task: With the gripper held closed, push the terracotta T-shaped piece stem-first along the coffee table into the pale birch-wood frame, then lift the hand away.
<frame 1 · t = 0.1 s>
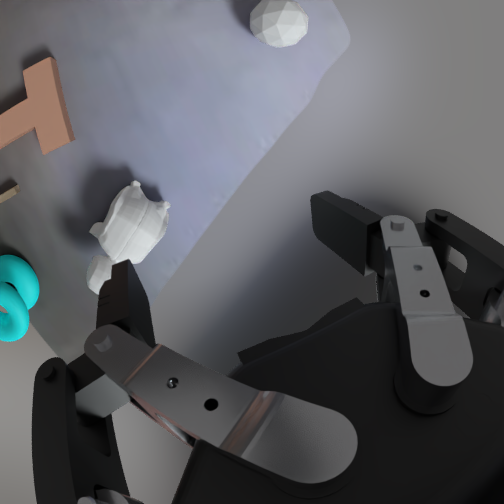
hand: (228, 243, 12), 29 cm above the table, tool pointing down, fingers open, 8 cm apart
donuts: (15, 278, 34), on the table
white animal figure: (123, 228, 38), on the table
geometric ball: (266, 28, 32), on the table
t piece: (26, 118, 25), on the table
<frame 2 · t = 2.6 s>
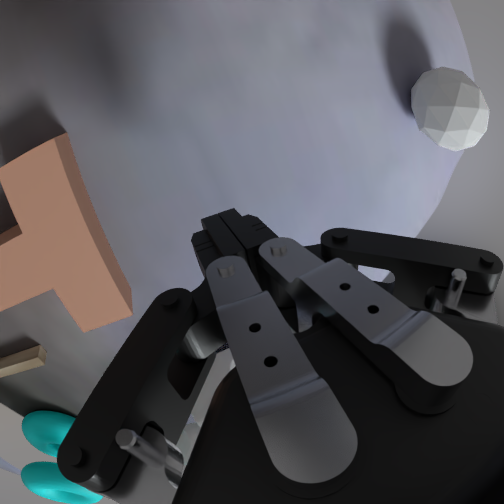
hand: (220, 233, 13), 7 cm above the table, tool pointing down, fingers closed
donuts: (58, 425, 24), on the table
white animal figure: (210, 377, 29), on the table
geometric ball: (417, 101, 21), on the table
t piece: (27, 250, 15), on the table
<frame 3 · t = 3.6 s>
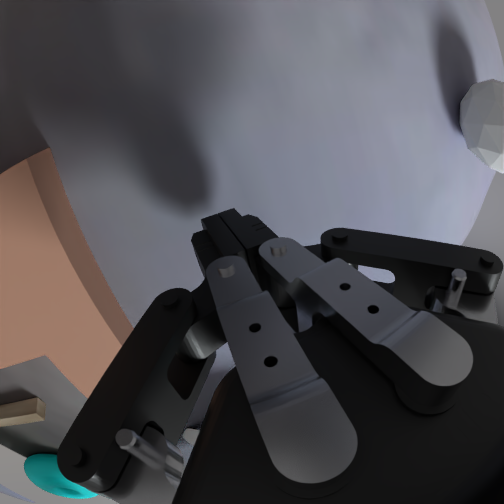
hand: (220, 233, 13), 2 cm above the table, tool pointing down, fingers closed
donuts: (63, 465, 20), on the table
geometric ball: (463, 115, 18), on the table
t piece: (11, 298, 11), on the table
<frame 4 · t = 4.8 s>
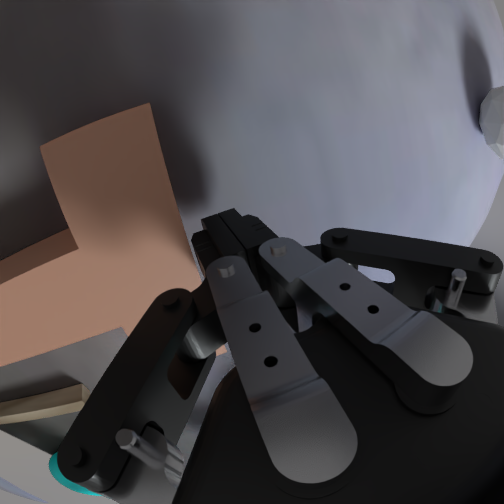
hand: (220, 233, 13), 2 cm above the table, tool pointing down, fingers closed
donuts: (91, 460, 21), on the table
geometric ball: (481, 116, 19), on the table
t piece: (70, 269, 12), on the table, touching gripper
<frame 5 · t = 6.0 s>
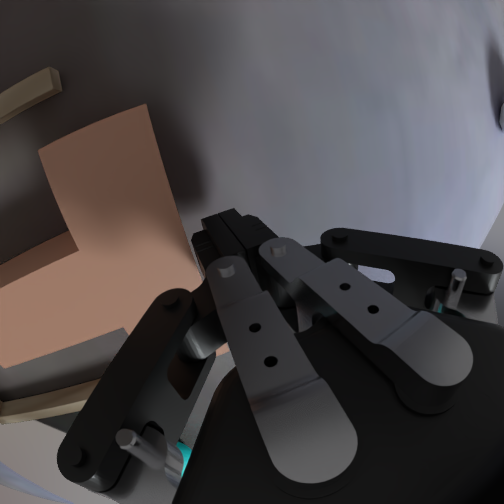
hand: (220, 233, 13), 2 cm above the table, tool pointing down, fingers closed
geometric ball: (501, 116, 20), on the table
t piece: (72, 271, 12), on the table, touching gripper
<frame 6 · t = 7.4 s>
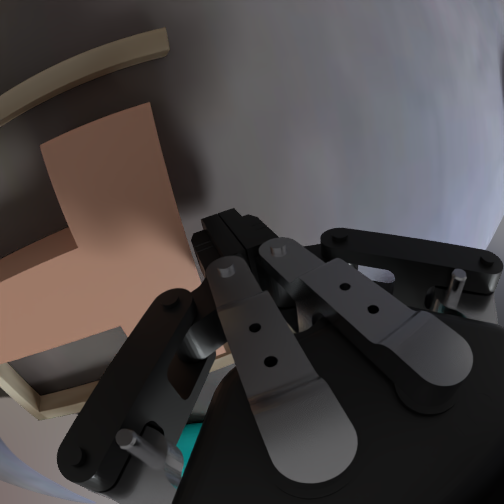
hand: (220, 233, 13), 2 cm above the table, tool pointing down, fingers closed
donuts: (187, 439, 23), on the table
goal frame: (53, 278, 12), on the table
t piece: (70, 268, 12), on the table, touching gripper
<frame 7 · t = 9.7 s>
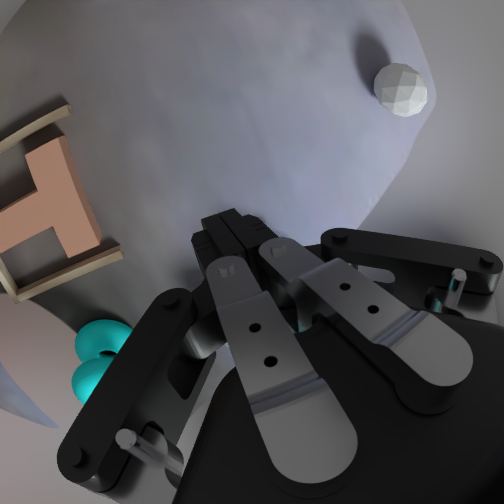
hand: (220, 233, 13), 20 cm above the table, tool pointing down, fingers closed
donuts: (108, 340, 36), on the table
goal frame: (32, 212, 25), on the table
geometric ball: (380, 88, 34), on the table
t piece: (38, 207, 25), on the table
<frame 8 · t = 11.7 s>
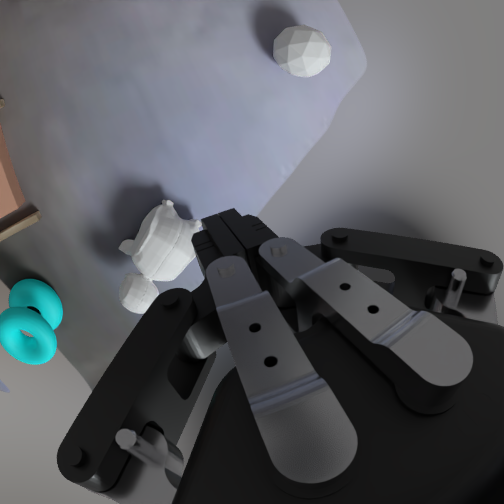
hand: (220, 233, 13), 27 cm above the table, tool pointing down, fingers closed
donuts: (37, 300, 36), on the table
white animal figure: (152, 244, 40), on the table
geometric ball: (287, 54, 34), on the table
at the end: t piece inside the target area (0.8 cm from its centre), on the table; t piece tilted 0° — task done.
